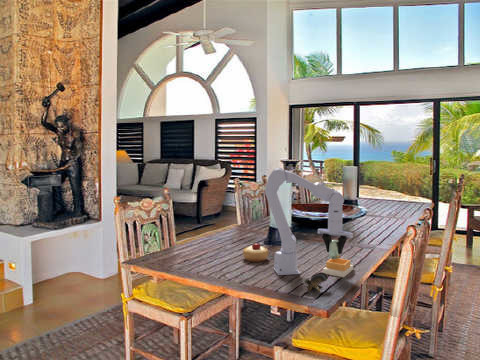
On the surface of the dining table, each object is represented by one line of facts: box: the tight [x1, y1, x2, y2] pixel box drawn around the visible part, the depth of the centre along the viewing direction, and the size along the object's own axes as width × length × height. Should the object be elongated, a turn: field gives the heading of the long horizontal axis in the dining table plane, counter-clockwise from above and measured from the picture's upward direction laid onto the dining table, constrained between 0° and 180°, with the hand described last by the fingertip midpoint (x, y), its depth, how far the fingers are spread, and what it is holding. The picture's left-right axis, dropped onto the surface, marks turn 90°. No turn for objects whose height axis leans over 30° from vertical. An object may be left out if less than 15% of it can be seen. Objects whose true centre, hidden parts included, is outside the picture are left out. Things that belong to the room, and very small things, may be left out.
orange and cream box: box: [322, 257, 354, 278], centre depth 171 cm, size 12×9×4 cm
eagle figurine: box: [301, 271, 328, 293], centre depth 150 cm, size 8×7×9 cm
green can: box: [328, 239, 341, 260], centre depth 167 cm, size 4×4×7 cm
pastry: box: [242, 240, 269, 263], centre depth 188 cm, size 12×12×9 cm
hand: (334, 252), depth 167 cm, fingers closed on green can, 4 cm apart
